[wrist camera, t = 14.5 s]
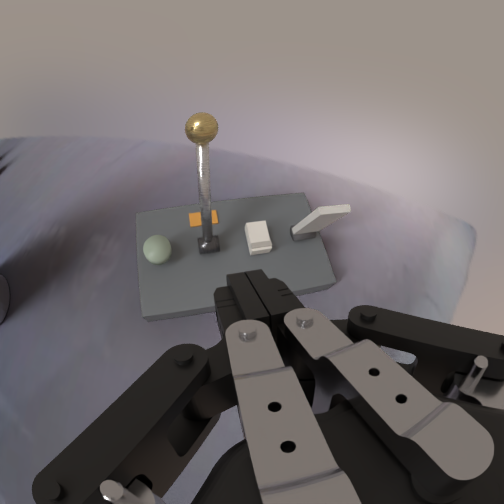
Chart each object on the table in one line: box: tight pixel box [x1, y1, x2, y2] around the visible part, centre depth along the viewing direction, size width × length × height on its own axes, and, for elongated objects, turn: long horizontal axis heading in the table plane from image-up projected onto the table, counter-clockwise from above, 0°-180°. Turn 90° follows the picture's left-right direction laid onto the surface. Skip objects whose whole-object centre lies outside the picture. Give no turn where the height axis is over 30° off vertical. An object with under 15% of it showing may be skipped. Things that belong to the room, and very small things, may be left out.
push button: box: [143, 235, 172, 265], centre depth 31 cm, size 3×3×3 cm
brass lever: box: [185, 112, 220, 255], centre depth 27 cm, size 3×3×16 cm
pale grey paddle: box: [290, 204, 351, 241], centre depth 31 cm, size 2×4×10 cm, turn 104°
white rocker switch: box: [245, 220, 272, 255], centre depth 33 cm, size 4×2×2 cm, turn 14°
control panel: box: [136, 193, 336, 322], centre depth 35 cm, size 14×24×3 cm, turn 104°
